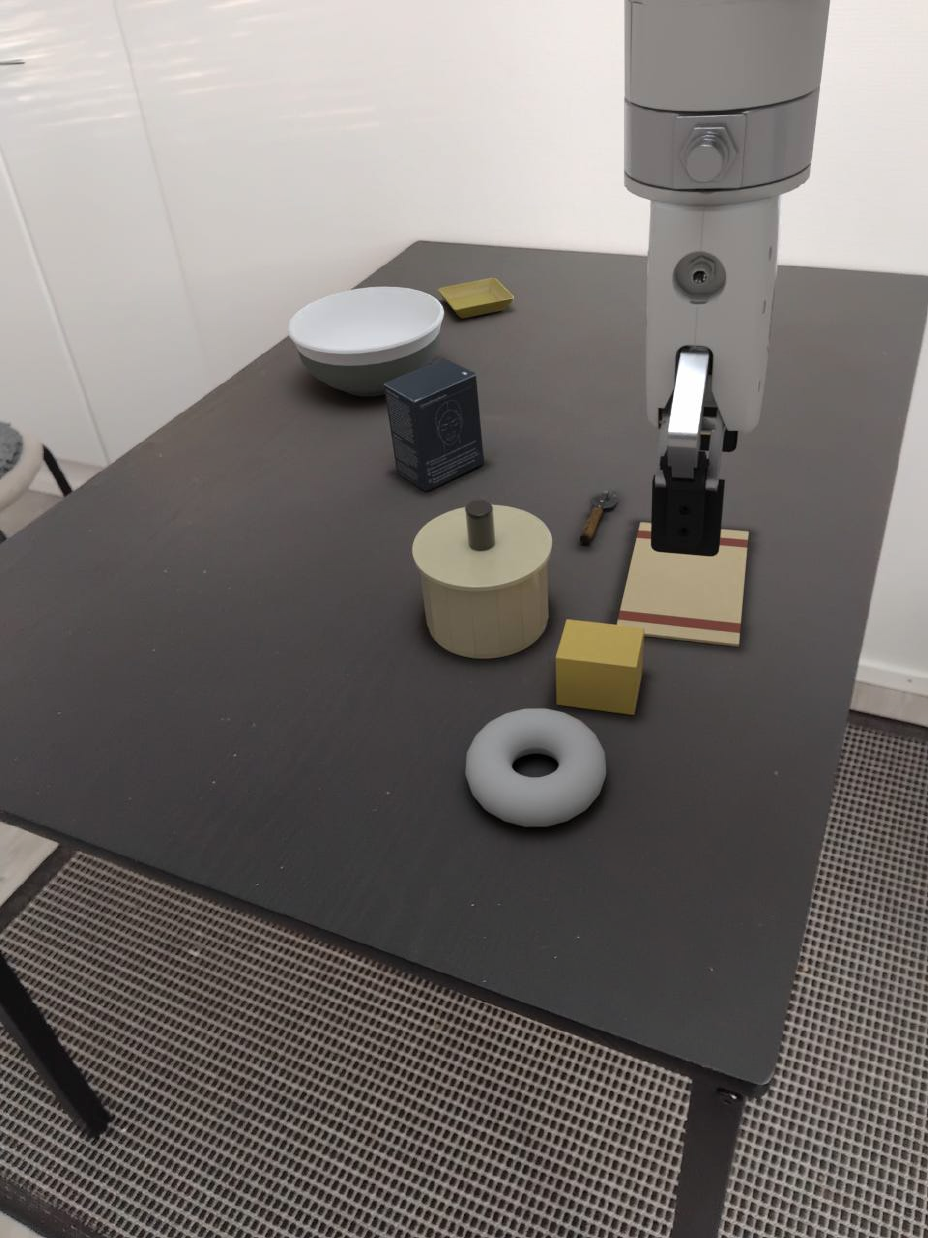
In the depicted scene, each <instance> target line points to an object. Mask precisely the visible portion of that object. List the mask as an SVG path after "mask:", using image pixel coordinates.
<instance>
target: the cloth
mask: <svg viewBox="0 0 928 1238" xmlns="http://www.w3.org/2000/svg"><path fill="white" fill-rule="evenodd" d="M749 535H750V532H749V531H747V530H737V529H725V528H724V529H723V528H721V538H720V547H719V552H718V554H717V555H715V556H712V557H709V556H698V555H686V554H675V553H663V552H656V551H654V550H653V549H652V547H651V522H642V521H641V522H639V526H638V529H637V534H636V538H635V543H634V547H633V552H632V557H631V560H630V565H629V569H628V572H627V573H628V574H627V579H626V582H625V585H624V590H623V591H624V592H623V595H622V596H623V597H622V599H621V604H620V608H619V613H618V617H617V622H616V625H622V626H631V627H640V628H644V637H650V638H658V639H666V640H676V641H684V642H693V643H702V644H708V645H709V644H710V645H718V646H727V647H728V646H729V647H737V648H739V647H740V639H741V626H742V616H743V615H742V614H743V603H744V593H745V592H744V591H745V580H746V571H747V569H746V568H747V557H748V547H749V545H748V544H749Z"/></svg>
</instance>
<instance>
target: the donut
mask: <svg viewBox="0 0 928 1238" xmlns="http://www.w3.org/2000/svg"><path fill="white" fill-rule="evenodd" d="M532 754H533V755H536V754H537V755H538V754H540V755H545V756H548V757H550V758H552V759H553V760H555V761H556V762H557V763H558V767H557V768H556V770H555V771H553V772H551V773H549V774H547V775H543V776H539V777H538V776H535V777H534V776H533V777H531V776H526V775H523V774H520V773H519V772H517V771H515V770H514V768H513V765H514V763H515V761H517V760H518V759H520V758H522V757H523V756H528V755H532ZM464 775H465V778H466V780H467V783H468V787H469V789H470V792H471V794H472V795H471V796H472V797H474V799H475V800H476V801H477V802H478V804H480V806H481V807H482V808H483V809H484V810H485V811H487V812H488V813H489V814H491V815H493V816H495V817H496V818H498V819H500V820H502V821H503V822H506V823H510V824H513V825H517V826H521V827H525V828H533V827H535V828H536V827H537V828H539V827H541V828H543V827H544V828H545V827H546V828H547V827H550V826H551V827H552V826H554V825H558V824H559V825H560V824H562V823H565V822H568V821H570V820H572V819H574V818H575V817H577V816H579V815H580V814H582V813H583V812H585V811H586V810H588V808H589V807H591V805H592V803H593V802H594V801H595V800H596V799H597V797H598V796H599V795H600V794H601V791H602V788H603V786H604V782H605V780H606V777H607V762H606V753H605V750H604V748H603V746H602V744H601V742H600V740H599V738H598V736H597V735H596V733H595V732H594V731H592V729H590V728H589V727H588V726H587V725H586V724H585V723H584V721H582V720H580V719H579V718H576V717H574V716H572V715H570V714H568V713H566V712H563V711H559V710H555V709H550V708H543V707H542V708H540V707H539V708H522V709H519V710H513V711H509V712H506V713H504V714H501V715H500V716H498V717H496V718H494V719H491V720H490V721H489V722H488V723H487V724H486V725H485V726H484V727H482V729H481V730H479V731H478V732H477V733H476V734H475V736H474V738H473V740H472V742H471V743H470V746H469V748H468V750H467V752H466V757H465V771H464Z"/></svg>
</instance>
